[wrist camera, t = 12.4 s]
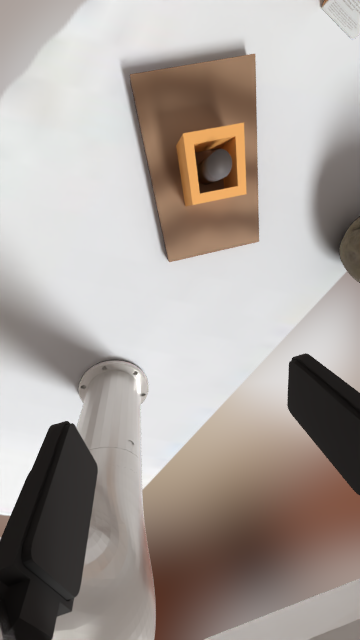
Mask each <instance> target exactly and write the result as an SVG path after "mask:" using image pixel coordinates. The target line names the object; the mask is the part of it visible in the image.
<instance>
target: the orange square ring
mask: <svg viewBox="0 0 360 640" xmlns="http://www.w3.org/2000/svg"><path fill="white" fill-rule="evenodd" d="M217 148H221V149H224V150H226V151H227V152H228V153H229V154H230V156H231V158H232V168H231V171H230V173H229V174H228V175H227V176H226V177H224V178H223V179H224V189H221V190H216V191H211V192H206V193H201V194H200V191H199V183H198V174H197V166H196V158H195V152H201V151H206V150H211V149H217ZM176 149H177V155H178V162H179V169H180V175H181V182H182V188H183V195H184V202H185V206H191V205H196V204H201V203H206V202H210V201H215V200H220V199H225V198H230V197H235V196H240V195H245V194H247V193H246V165H245V136H244V123H239V124H233V125H227V126H222V127H216V128H211V129H205V130H200V131H194V132H188V133H183V134H182V136H181V138H180V140H179V141H178V143H177V145H176Z"/></svg>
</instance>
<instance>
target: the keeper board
mask: <svg viewBox="0 0 360 640" xmlns="http://www.w3.org/2000/svg"><path fill="white" fill-rule="evenodd" d="M130 82H131V87H132V92H133V96H134V101H135V106H136V110H137V115H138V120H139V125H140V129H141V134H142V139H143V144H144V148H145V153H146V158H147V163H148V167H149V172H150V177H151V182H152V186H153V191H154V196H155V201H156V205H157V210H158V215H159V220H160V224H161V229H162V234H163V239H164V243H165V248H166V253H167V257H168V261H169V262H172V261H177V260H181V259H185V258H190V257H194V256H198V255H203V254H207V253H211V252H216V251H220V250H224V249H229V248H233V247H237V246H242V245H246V244H250V243H255V242H259V218H258V168H257V118H256V69H255V54H250V55H244V56H238V57H232V58H226V59H220V60H214V61H208V62H202V63H196V64H190V65H184V66H178V67H172V68H166V69H160V70H154V71H148V72H142V73H136V74H130ZM239 123H244V136H245V165H246V193H247V194H245V195H240V196H235V197H230V198H225V199H220V200H215V201H210V202H206V203H201V204H196V205H191V206H185V202H184V195H183V188H182V182H181V175H180V169H179V162H178V155H177V149H176V145H177V143H178V141H179V140H180V138H181V136H182V134H183V133H188V132H194V131H200V130H205V129H211V128H216V127H222V126H227V125H233V124H239ZM195 158H196V166H197V174H198V183H199V191H200V194H201V193H206V192H211V191H216V190H221V189H224V179H223V178H224V177H226V176H227V175H228V174H229V173H230V171H231V168H232V158H231V156H230V154H229V153H228V152H227V151H226V150H224V149H221V148H217V149H211V150H206V151H201V152H195Z"/></svg>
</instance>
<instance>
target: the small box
mask: <svg viewBox="0 0 360 640" xmlns="http://www.w3.org/2000/svg"><path fill="white" fill-rule="evenodd" d="M322 9H323V10H324V11H325V12H326V13H327V14H328V15H329V16H330V17H331V18H332V19H333V20H334V21H335V22H336V23H337V24H338V26H339V27H340V28H341V29H342V30H343V31H344V32H345V33H346V34H347V35H348V36H349V37H350V38H351V39H352V40H354V39H355V38H356V37H358V36H359V35H360V0H324V2H323V4H322Z"/></svg>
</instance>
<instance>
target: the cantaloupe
mask: <svg viewBox="0 0 360 640" xmlns="http://www.w3.org/2000/svg"><path fill="white" fill-rule="evenodd" d="M339 251H340V258H341V261H342V263H343V265H344V267H345V268H346V270H347V271H348V273H349V274H350V275H351V276H352V277H353V278H354V279H355V280H356V281H358V282H359V283H360V217H359V218H357V219H356V220H355V221H354V222H353V223H352V224H351V226H350V227H349V228H348V230H347V231H346V233H345V235H344V237H343V239H342V241H341V244H340V249H339Z"/></svg>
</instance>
